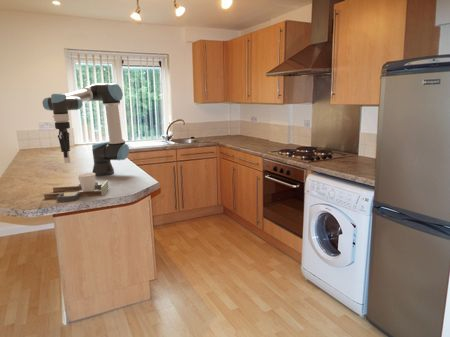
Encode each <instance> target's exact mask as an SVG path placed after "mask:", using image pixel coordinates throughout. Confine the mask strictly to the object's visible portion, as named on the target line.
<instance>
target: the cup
mask: <svg viewBox="0 0 450 337" xmlns="http://www.w3.org/2000/svg"><path fill="white" fill-rule="evenodd" d="M77 177H78V180H79V181H78V182H79V184H81V187H82V191H81V192H85V191H95V189H94V186H95V182H96V181H95V180H96V175H95V173H92V172H84V173H83V172H82V173H79V174H78V175H77Z"/></svg>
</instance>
